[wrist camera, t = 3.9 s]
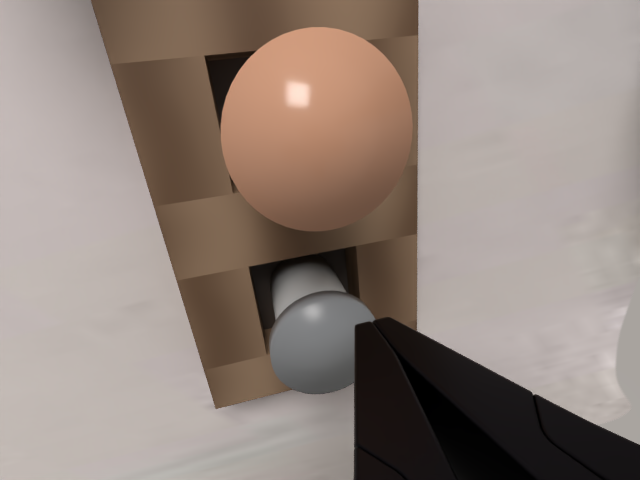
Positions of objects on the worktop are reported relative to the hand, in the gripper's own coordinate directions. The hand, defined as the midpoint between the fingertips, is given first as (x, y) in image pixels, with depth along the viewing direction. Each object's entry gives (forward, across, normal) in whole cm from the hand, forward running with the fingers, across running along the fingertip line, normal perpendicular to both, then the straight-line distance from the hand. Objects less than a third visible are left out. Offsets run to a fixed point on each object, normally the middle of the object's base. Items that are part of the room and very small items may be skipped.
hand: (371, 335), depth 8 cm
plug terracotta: (+8, 0, -4) cm, 9 cm away
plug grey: (+11, 0, +5) cm, 12 cm away
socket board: (+12, 0, 0) cm, 12 cm away
